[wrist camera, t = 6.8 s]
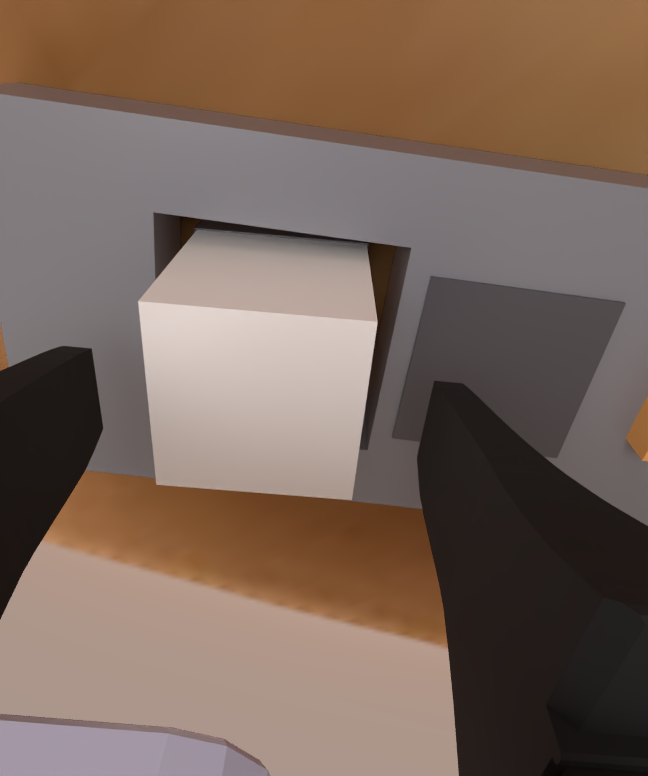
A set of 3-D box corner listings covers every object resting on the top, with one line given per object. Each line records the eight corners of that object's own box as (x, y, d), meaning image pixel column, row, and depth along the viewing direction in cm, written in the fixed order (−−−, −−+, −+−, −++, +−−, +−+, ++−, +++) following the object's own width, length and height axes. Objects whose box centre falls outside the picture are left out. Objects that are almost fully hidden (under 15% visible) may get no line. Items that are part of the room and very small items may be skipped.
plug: (366, 230, 15) (380, 319, 10) (349, 371, 18) (353, 502, 12) (204, 216, 15) (135, 298, 10) (208, 359, 17) (154, 486, 12)
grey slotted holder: (791, 196, 14) (910, 233, 11) (632, 484, 20) (685, 562, 17) (16, 82, 13) (-76, 89, 10) (62, 416, 19) (10, 485, 16)
